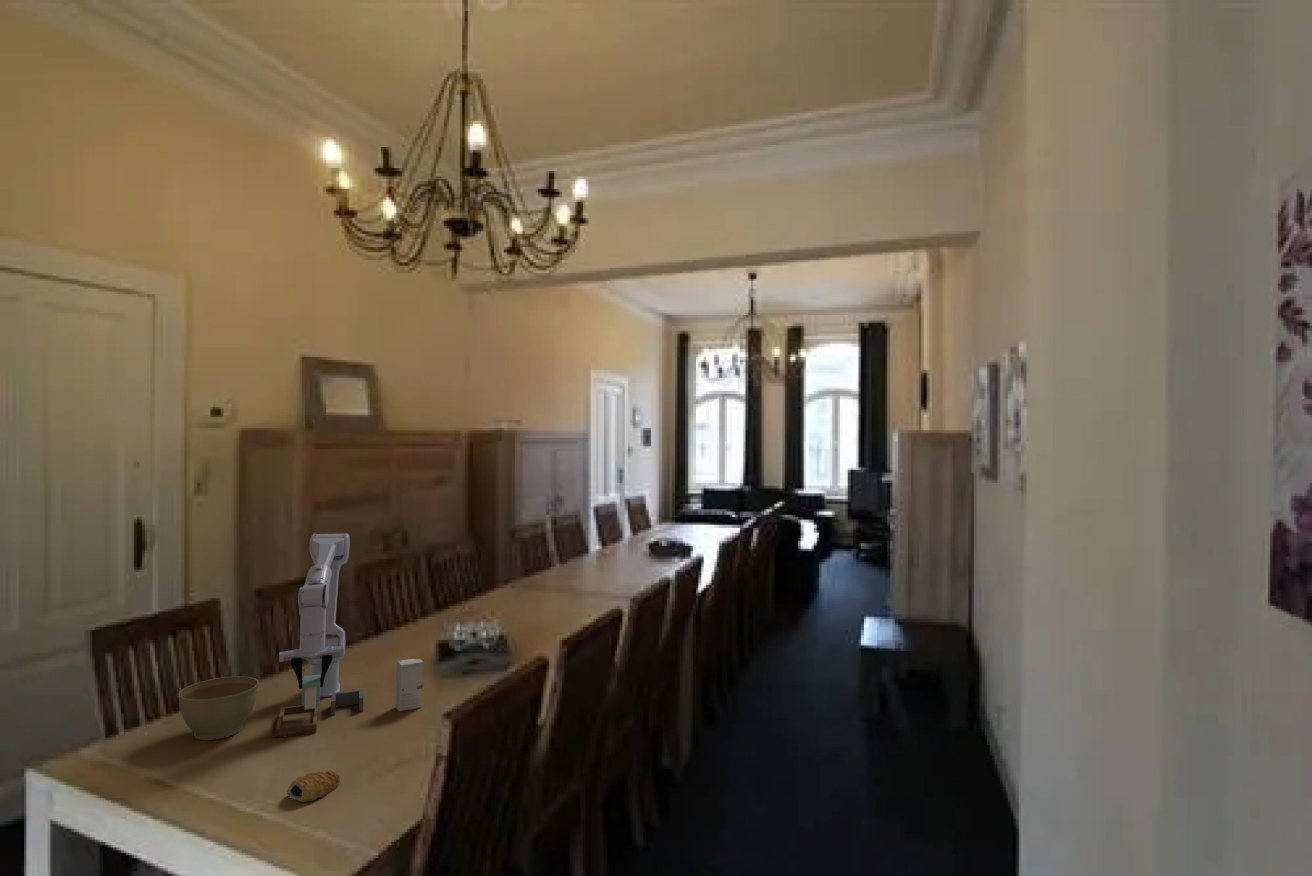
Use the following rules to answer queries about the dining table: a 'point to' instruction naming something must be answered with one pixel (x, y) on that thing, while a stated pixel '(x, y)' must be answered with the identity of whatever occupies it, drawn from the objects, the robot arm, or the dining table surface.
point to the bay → (347, 699)
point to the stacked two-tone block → (311, 691)
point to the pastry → (313, 786)
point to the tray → (297, 721)
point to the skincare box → (409, 684)
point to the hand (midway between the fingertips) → (311, 686)
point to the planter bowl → (218, 706)
